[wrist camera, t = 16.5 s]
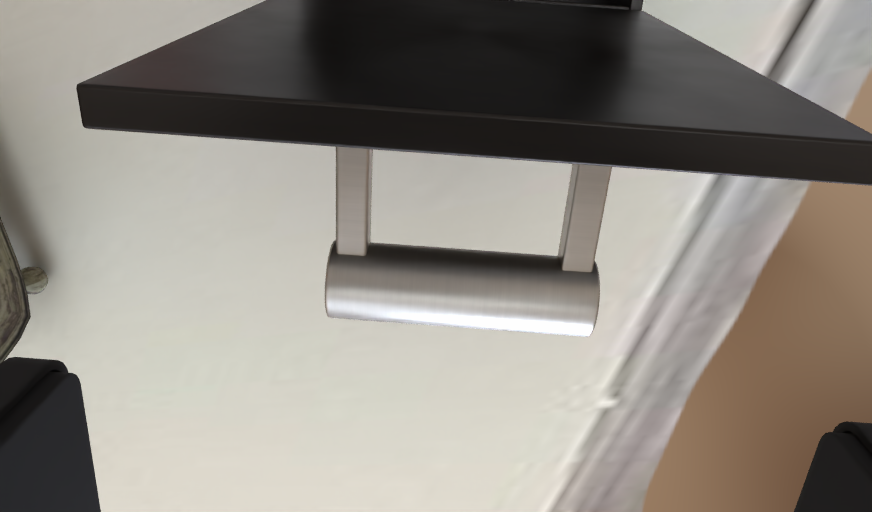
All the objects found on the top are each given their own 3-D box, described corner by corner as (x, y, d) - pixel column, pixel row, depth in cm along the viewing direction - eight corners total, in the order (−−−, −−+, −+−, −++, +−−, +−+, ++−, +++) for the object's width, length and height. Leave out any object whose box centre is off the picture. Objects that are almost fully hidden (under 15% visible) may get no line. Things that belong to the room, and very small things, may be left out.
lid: (73, 83, 12) (119, 355, 14) (892, 143, 12) (795, 405, 14) (297, -15, 28) (300, 122, 30) (644, 10, 28) (619, 145, 30)
